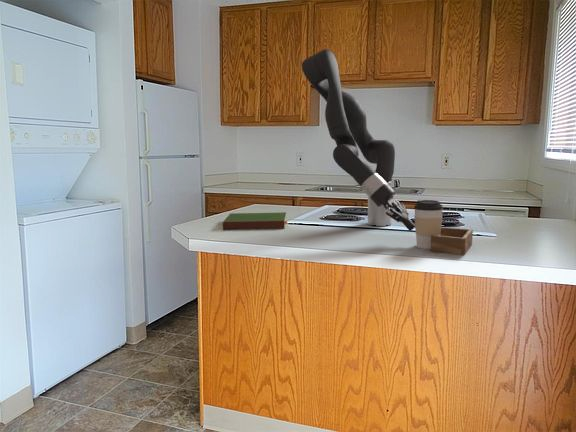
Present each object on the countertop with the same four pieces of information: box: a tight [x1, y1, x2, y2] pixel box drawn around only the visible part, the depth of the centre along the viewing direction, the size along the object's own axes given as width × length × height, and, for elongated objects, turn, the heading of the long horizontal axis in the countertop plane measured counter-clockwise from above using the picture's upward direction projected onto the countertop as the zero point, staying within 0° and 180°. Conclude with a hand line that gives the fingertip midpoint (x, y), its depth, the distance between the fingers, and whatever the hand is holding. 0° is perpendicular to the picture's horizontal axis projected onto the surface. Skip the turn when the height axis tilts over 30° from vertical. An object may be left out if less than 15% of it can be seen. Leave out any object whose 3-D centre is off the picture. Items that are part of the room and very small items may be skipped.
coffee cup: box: [413, 199, 444, 250], centre depth 150 cm, size 9×9×15 cm
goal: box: [430, 226, 474, 256], centre depth 148 cm, size 14×10×5 cm
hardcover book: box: [222, 211, 288, 231], centre depth 194 cm, size 25×19×4 cm
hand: (413, 228), depth 153 cm, fingers closed
